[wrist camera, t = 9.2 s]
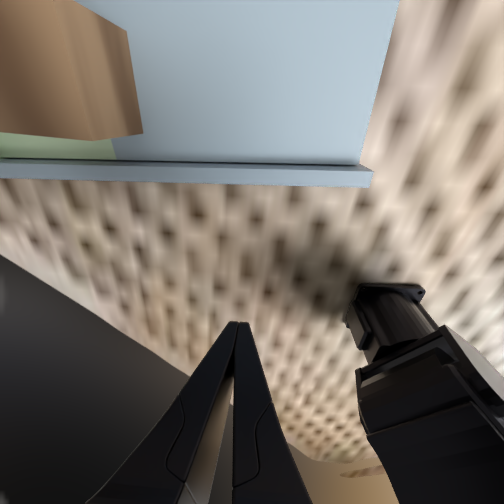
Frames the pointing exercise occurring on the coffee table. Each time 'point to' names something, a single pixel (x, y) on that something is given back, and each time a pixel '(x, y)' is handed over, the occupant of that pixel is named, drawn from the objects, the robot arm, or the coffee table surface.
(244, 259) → the coffee table surface
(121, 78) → the block
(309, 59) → the trap box
